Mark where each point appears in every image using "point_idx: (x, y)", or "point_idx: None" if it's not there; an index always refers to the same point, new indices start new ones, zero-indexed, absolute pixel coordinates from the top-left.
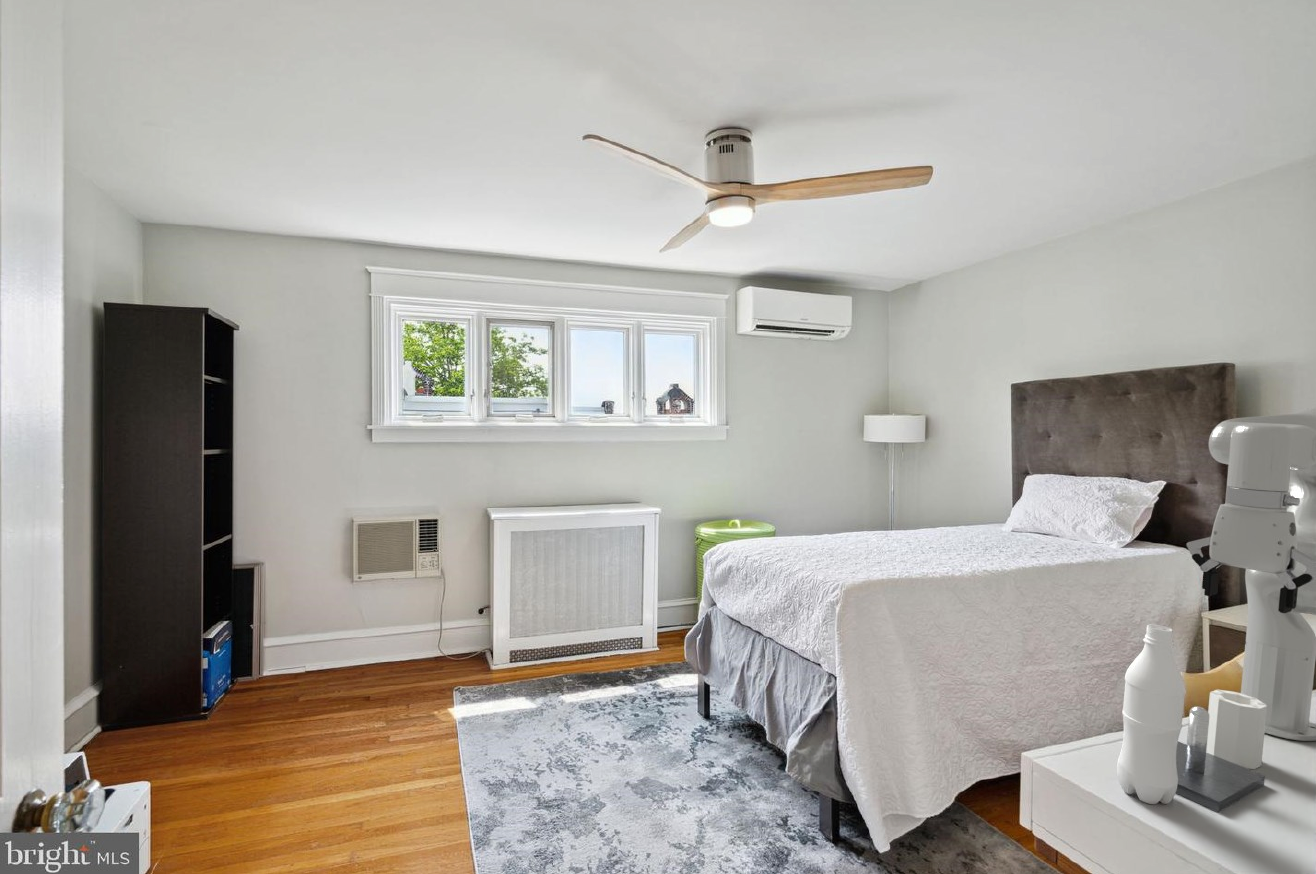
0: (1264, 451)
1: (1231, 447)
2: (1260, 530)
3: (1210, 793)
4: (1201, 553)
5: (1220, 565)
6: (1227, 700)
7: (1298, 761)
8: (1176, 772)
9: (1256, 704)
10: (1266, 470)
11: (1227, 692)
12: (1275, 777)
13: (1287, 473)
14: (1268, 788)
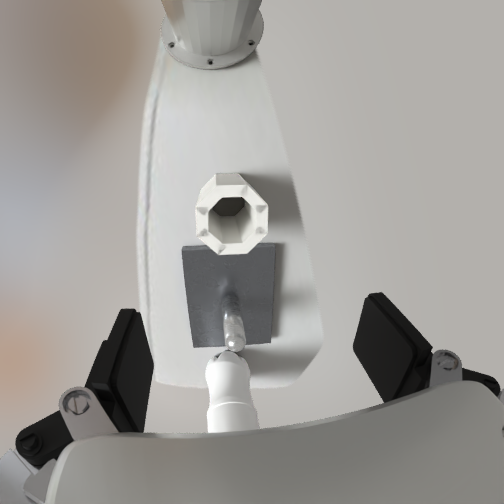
0: None
1: None
2: None
3: (261, 336)
4: (43, 472)
5: (113, 425)
6: (227, 247)
7: (271, 124)
8: (249, 377)
9: (257, 219)
10: None
11: (210, 204)
12: (272, 206)
13: None
14: (277, 245)
